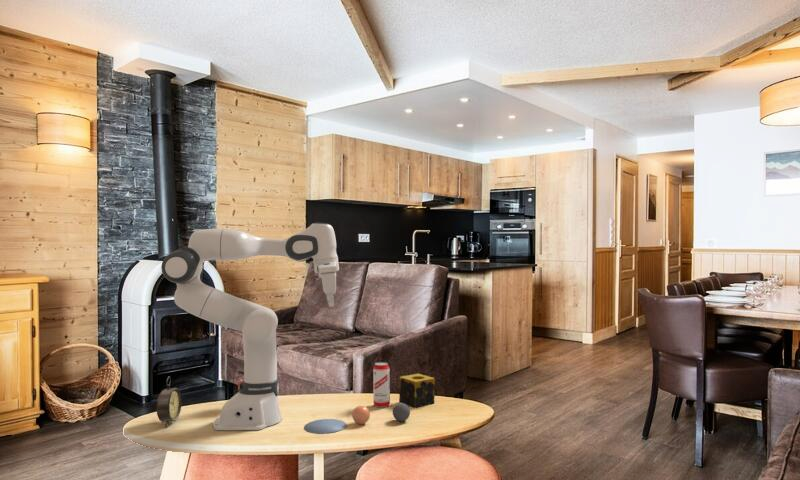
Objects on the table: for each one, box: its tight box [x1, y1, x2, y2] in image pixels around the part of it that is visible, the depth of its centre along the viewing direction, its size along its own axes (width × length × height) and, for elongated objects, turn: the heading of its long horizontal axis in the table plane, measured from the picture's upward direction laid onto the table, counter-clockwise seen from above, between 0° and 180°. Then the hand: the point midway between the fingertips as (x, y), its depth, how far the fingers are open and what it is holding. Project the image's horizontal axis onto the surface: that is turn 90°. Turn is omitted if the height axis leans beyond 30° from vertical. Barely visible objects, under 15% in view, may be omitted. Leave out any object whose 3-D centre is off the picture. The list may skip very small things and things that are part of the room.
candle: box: [398, 373, 435, 409], centre depth 192 cm, size 10×10×10 cm
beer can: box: [372, 361, 391, 409], centre depth 189 cm, size 6×6×16 cm
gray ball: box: [392, 402, 411, 422], centre depth 171 cm, size 6×6×6 cm
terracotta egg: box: [351, 405, 371, 425], centre depth 168 cm, size 6×6×6 cm
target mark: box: [304, 418, 347, 435], centre depth 166 cm, size 14×14×1 cm
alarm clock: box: [156, 376, 182, 429], centre depth 170 cm, size 11×5×16 cm, turn 3°
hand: (330, 305), depth 177 cm, fingers open, 8 cm apart
